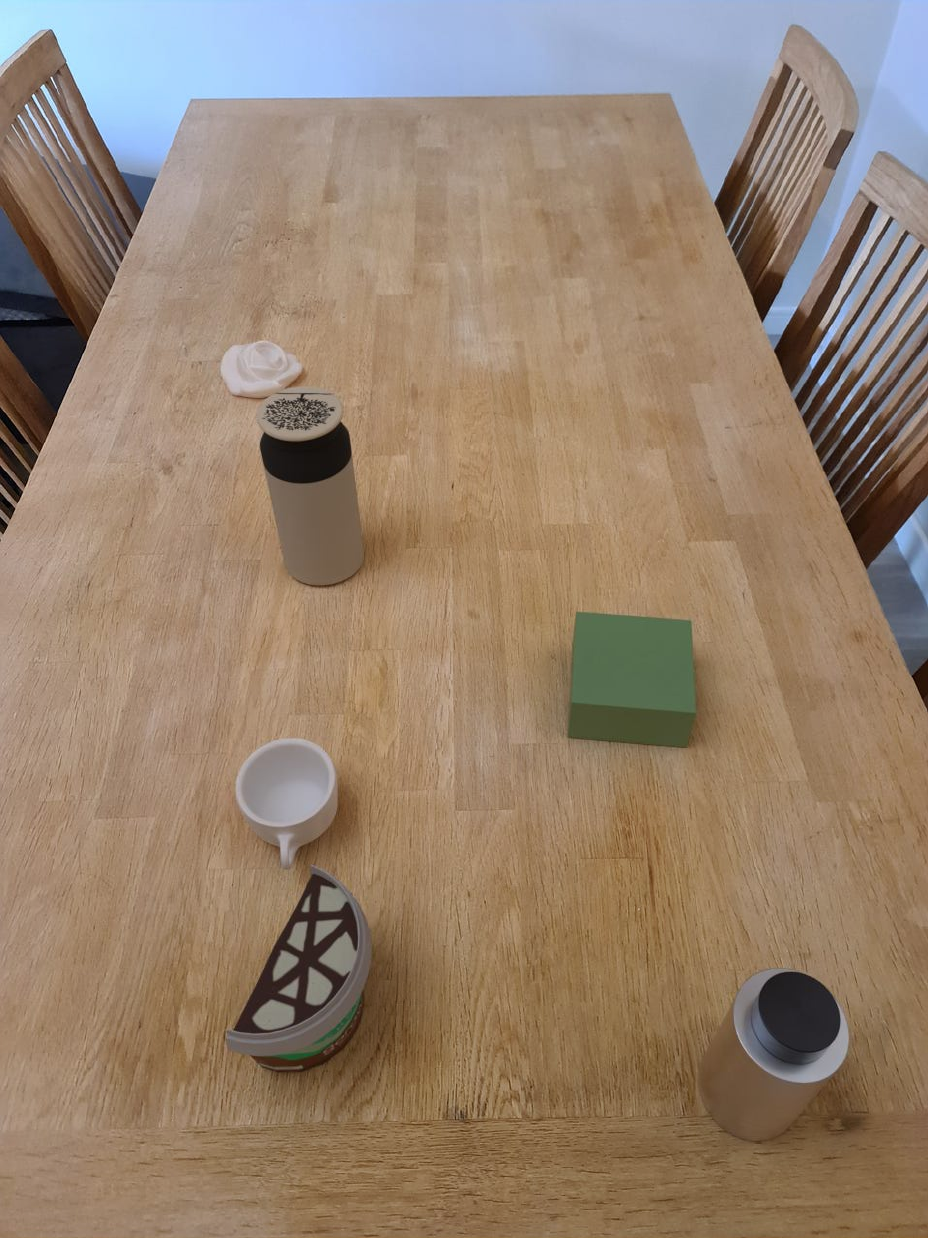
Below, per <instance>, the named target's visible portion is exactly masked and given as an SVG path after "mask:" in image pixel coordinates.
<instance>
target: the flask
mask: <svg viewBox="0 0 928 1238" xmlns="http://www.w3.org/2000/svg"><path fill="white" fill-rule="evenodd" d="M849 1046H850V1029H849V1024H848V1021H847V1018H846V1015H845V1013H844V1010H843V1008H842V1006H841V1004H840V1003H839V1001H838V1000H837V999H836V997H835V996H834V995H833V993H832V992H831V991H830V990H829V989H828V988H827V986H825V985H824V984H823V983H822V982H821V981H819V980H818V979H816V978H815V977H813V976H811V975H808V974H806V973H804V972H801V971H799V970H795V969H792V968H786V967H773V968H767V969H766V968H765V969H763V970H760V971H758V972H756V973H754V974H752V975H750V977H748V978H747V979H746V980H745V981H744V982H743V983H742V984H741V986H740V988H739V989H738V991H737V992H736V995H735V996H734V998H733V1000H732V1002H731V1004H730V1005H729V1007H728V1009H727V1011H726V1014H725V1015H724V1017H723V1019H722V1022H721V1023H720V1026H719V1027H718V1029H717V1030H716V1033H715V1035H714V1036H713V1038H712V1040H711V1042H710V1044H709V1046H708V1048H707V1050H706V1052H705V1054H704V1056H703V1058H702V1060H701V1062H700V1065H699V1069H698V1074H697V1075H698V1077H697V1078H698V1079H697V1083H698V1084H697V1085H698V1090H699V1095H700V1098H701V1101H702V1103H703V1106H704V1107H705V1110H706V1111H707V1113H708V1115H709V1116H710V1117H711V1118H712V1119H713V1121H714V1122H715V1123H716V1124H717V1125H718V1126H719V1127H720V1128H721V1129H723V1130H724V1131H725V1132H727V1133H729V1134H730V1135H732V1136H733V1137H736V1138H739V1139H741V1140H745V1141H750V1142H766V1141H769V1140H773V1139H775V1138H777V1137H779V1136H780V1135H782V1134H784V1132H786V1131H787V1130H788V1128H789V1127H790V1126H791V1125H792V1124H793V1122H794V1121H795V1120H796V1119H797V1118H798V1117H799V1115H800V1114H801V1113H802V1112H804V1110H805V1109H806V1107H807V1106H808V1105H809V1104H810V1103H811V1102H812V1101H813V1099H814V1098H815V1097H816V1096H817V1095H818V1094H819V1093H820V1091H821V1090H822V1089H823V1088H824V1087H825V1086H826V1085H827V1083H828V1082H829V1081H830V1080H831V1079H832V1077H834V1075H835V1074H836V1073H837V1071H838V1070H839V1069H840V1068H841V1067H842V1066H843V1063H844V1062H845V1060H846V1058H847V1055H848V1051H849Z"/></svg>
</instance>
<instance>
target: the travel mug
mask: <svg viewBox="0 0 928 1238" xmlns="http://www.w3.org/2000/svg"><path fill="white" fill-rule="evenodd" d="M344 413H345V410H344V404H343V402H342V400H341V399H340V398H339V397H338V396H337V395H336V394H335V393H333V392H332V391H330V390H328V389H326V388H322V387H318V386H312V385H300V386H292V387H286V388H285V389H284V390H281V391H278V392H276V393H274V394H272V395H271V396H269V397H265V399H264V400H263V401H262V402H261V403H260V404H259V406H258V408H257V411H256V423H257V425H258V427H259V428H260V430H261V431H262V435H261V438H260V441H259V451H260V456H261V460H262V464H263V469H264V474H265V478H266V484H267V488H268V492H269V498H270V502H271V507H272V511H273V516H274V522H275V525H276V530H277V535H278V539H279V544H280V549H281V554H282V558H283V563H284V567H285V569H286V571H287V573H289V575H290V576H292V578H294V579H295V580H297V581H298V582H301V583H303V584H307V585H312V586H330V585H335V584H338V583H340V582H343V581H345V580H347V579H349V578H351V577H352V576H353V575H354V574H356V573H357V571H358V570H359V569H360V568H361V566H362V565H363V563H364V560H365V547H364V538H363V531H362V523H361V515H360V507H359V506H360V505H359V498H358V492H357V491H358V490H357V483H356V476H355V475H356V473H355V467H354V460H353V451H352V443H351V435H350V432H349V430H348V428H347V426H346V425H345V424H344V423H343V422H342V419H343V418H344Z"/></svg>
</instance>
